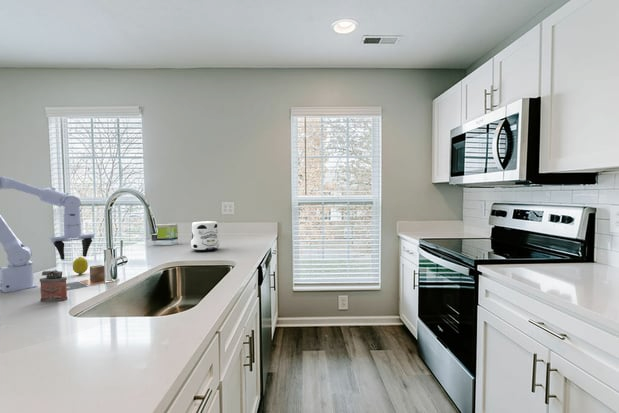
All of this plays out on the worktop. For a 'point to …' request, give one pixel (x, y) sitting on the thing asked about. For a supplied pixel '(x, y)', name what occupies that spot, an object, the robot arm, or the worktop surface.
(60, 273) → the lighter
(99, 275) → the walnut block
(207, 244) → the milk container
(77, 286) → the mat
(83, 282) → the tile
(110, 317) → the worktop surface
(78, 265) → the lemon
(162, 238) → the tea box
